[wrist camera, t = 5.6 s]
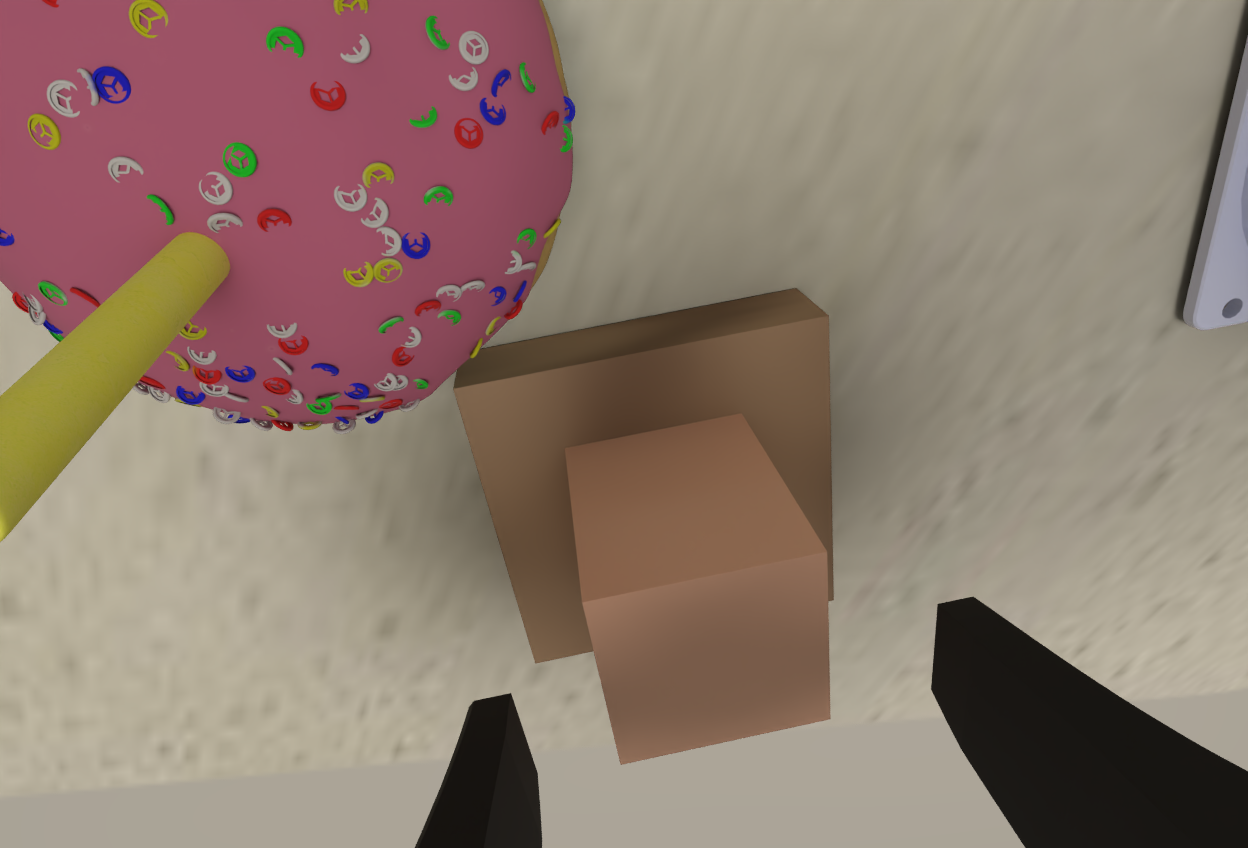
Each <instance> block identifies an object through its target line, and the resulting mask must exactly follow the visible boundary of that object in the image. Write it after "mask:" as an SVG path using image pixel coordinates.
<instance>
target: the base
mask: <svg viewBox="0 0 1248 848" xmlns="http://www.w3.org/2000/svg"><path fill="white" fill-rule="evenodd" d="M453 390H454V393H455V396H456V400H457V403H458V406H459V410H460V413H461V416H462V420H463V423H464V426H465V430H466V433H467V436H468V440H469V443H470V446H471V450H472V453H473V456H474V460H475V463H476V466H477V470H478V473H479V476H480V480H481V483H482V486H483V490H484V493H485V496H486V500H487V503H488V506H489V510H490V513H491V516H492V520H493V523H494V526H495V530H496V533H497V536H498V540H499V543H500V546H501V550H502V553H503V557H504V560H505V563H506V567H507V570H508V573H509V577H510V580H511V583H512V587H513V590H514V593H515V597H516V600H517V603H518V607H519V610H520V613H521V617H522V620H523V623H524V627H525V630H526V633H527V637H528V640H529V643H530V647H531V650H532V653H533V657H534V660H535V663H540V662H545V661H549V660H554V659H559V658H563V657H568V656H573V655H578V654H582V653H587V652H592V651H594V650H593V646H592V642H591V638H590V634H589V629H588V625H587V621H586V617H585V613H584V608H583V604H582V597H581V588H580V579H579V570H578V561H577V553H576V544H575V535H574V526H573V517H572V508H571V499H570V490H569V481H568V473H567V464H566V455H565V448H569V447H574V446H579V445H584V444H589V443H594V442H599V441H604V440H609V439H614V438H619V437H624V436H629V435H634V434H639V433H644V432H649V431H655V430H660V429H665V428H670V427H675V426H680V425H685V424H690V423H695V422H700V421H705V420H710V419H715V418H720V417H725V416H730V415H735V414H741V413H742V415H743V416H744V418H745V419H746V421H747V423H748V424H749V426H750V428H751V429H752V431H753V432H754V434H755V436H756V437H757V439H758V441H759V442H760V444H761V445H762V447H763V449H764V450H765V452H766V453H767V455H768V457H769V458H770V460H771V462H772V463H773V465H774V466H775V468H776V470H777V471H778V473H779V474H780V476H781V478H782V479H783V481H784V483H785V484H786V486H787V487H788V489H789V491H790V492H791V494H792V495H793V497H794V499H795V500H796V502H797V504H798V505H799V507H800V508H801V510H802V512H803V513H804V515H805V517H806V518H807V520H808V521H809V523H810V525H811V526H812V528H813V529H814V531H815V533H816V534H817V536H818V538H819V539H820V541H821V542H822V544H823V546H824V547H825V549H826V550H827V566H828V601H832V600H834V593H833V536H832V478H831V420H830V362H829V315H827V314H826V313H825V312H824V311H823V310H821V309H820V308H819V307H818V306H817V305H815V304H814V303H813V302H812V301H811V300H810V299H808V298H807V297H806V296H805V295H804V294H802V293H801V292H800V291H799V290H798V289H797V288H795V289H790V290H785V291H780V292H774V293H769V294H764V295H759V296H754V297H748V298H743V299H738V300H733V301H728V302H723V303H717V304H712V305H707V306H702V307H697V308H692V309H686V310H681V311H676V312H671V313H666V314H660V315H655V316H650V317H645V318H640V319H635V320H629V321H624V322H619V323H614V324H609V325H604V326H598V327H593V328H588V329H583V330H578V331H572V332H567V333H562V334H557V335H552V336H547V337H541V338H536V339H531V340H526V341H521V342H516V343H510V344H505V345H500V346H495V347H490V348H484V349H479V351H478V353H477V355H476V356H475V357H474V358H469V359H468V360H467V361H466V362H464V363H463V364H462V365H461V366H460V367H459V368H458V369H457V373H456V378H455V383H454V388H453Z"/></svg>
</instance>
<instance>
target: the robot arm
mask: <svg viewBox="0 0 1248 848" xmlns="http://www.w3.org/2000/svg"><path fill="white" fill-rule="evenodd" d="M1227 303H1228V304H1227ZM1226 304H1227V306H1226V307H1225V308H1224V306H1225V305H1226ZM1223 308H1224V309H1223ZM1183 319H1184V321H1185V323H1186V324H1188V325H1189V326H1192V327H1194V328H1196V329H1199V330H1210V329H1215V328H1220V327H1225V326H1230V325H1235V324H1240V323H1245V322H1248V37H1247V41H1246V46H1245V50H1244V54H1243V58H1242V63H1241V67H1240V71H1239V75H1238V80H1237V84H1236V88H1235V93H1234V97H1233V101H1232V105H1231V110H1230V114H1229V118H1228V122H1227V127H1226V131H1225V135H1224V140H1223V144H1222V148H1221V152H1220V157H1219V161H1218V165H1217V170H1216V174H1215V178H1214V182H1213V187H1212V191H1211V195H1210V199H1209V204H1208V208H1207V212H1206V217H1205V221H1204V225H1203V229H1202V234H1201V238H1200V242H1199V246H1198V251H1197V255H1196V259H1195V264H1194V268H1193V272H1192V276H1191V281H1190V285H1189V289H1188V294H1187V298H1186V302H1185V306H1184V311H1183ZM931 690H932V692H933V694H934V696H935V698H936V700H937V702H938V704H939V706H940V708H941V710H942V712H943V714H944V717H945V719H946V721H947V723H948V725H949V726H950V728H951V730H952V732H953V734H954V736H955V738H956V740H957V742H958V744H959V746H960V748H961V749H962V751H963V753H964V754H965V756H966V757H967V759H968V761H969V762H970V764H971V765H972V767H973V768H974V770H975V771H976V773H977V774H978V776H979V778H980V779H981V781H982V782H983V784H984V785H985V787H986V788H987V790H988V791H989V793H990V795H991V796H992V798H993V799H994V801H995V802H996V804H997V805H998V806H999V808H1000V810H1001V811H1002V813H1003V814H1004V816H1005V817H1006V819H1007V820H1008V822H1009V823H1010V825H1011V826H1012V828H1013V830H1014V831H1015V833H1016V834H1017V835H1018V837H1019V839H1020V840H1021V842H1022V843H1023V845H1024V846H1025V848H1248V771H1246V770H1244V769H1242V768H1240V767H1239V766H1237V765H1235V764H1233V763H1231V762H1229V761H1227V760H1226V759H1224V758H1222V757H1220V756H1218V755H1216V754H1215V753H1213V752H1211V751H1209V750H1207V749H1206V748H1204V747H1202V746H1200V745H1199V744H1197V743H1195V742H1193V741H1192V740H1190V739H1188V738H1186V737H1185V736H1183V735H1181V734H1180V733H1178V732H1176V731H1175V730H1173V729H1171V728H1170V727H1168V726H1166V725H1165V724H1163V723H1161V722H1160V721H1158V720H1156V719H1155V718H1153V717H1151V716H1150V715H1148V714H1146V713H1145V712H1143V711H1141V710H1140V709H1138V708H1137V707H1135V706H1134V705H1132V704H1130V703H1129V702H1127V701H1126V700H1124V699H1122V698H1121V697H1119V696H1118V695H1116V694H1115V693H1113V692H1112V691H1110V690H1109V689H1107V688H1105V687H1104V686H1102V685H1101V684H1099V683H1098V682H1096V681H1095V680H1093V679H1092V678H1090V677H1089V676H1087V675H1086V674H1084V673H1083V672H1081V671H1080V670H1078V669H1077V668H1075V667H1074V666H1072V665H1071V664H1069V663H1068V662H1066V661H1065V660H1063V659H1062V658H1060V657H1059V656H1058V655H1056V654H1055V653H1053V652H1052V651H1050V650H1049V649H1047V648H1046V647H1045V646H1043V645H1042V644H1040V643H1039V642H1037V641H1036V640H1034V639H1033V638H1032V637H1030V636H1029V635H1027V634H1026V633H1024V632H1023V631H1022V630H1020V629H1019V628H1017V627H1016V626H1014V625H1013V624H1012V623H1010V622H1009V621H1007V620H1006V619H1004V618H1003V617H1002V616H1000V615H999V614H997V613H996V612H995V611H993V610H992V609H990V608H989V607H987V606H986V605H985V604H983V603H982V602H980V601H979V600H977V599H976V598H974V597H969V598H964V599H960V600H955V601H950V602H945V603H940V604H938V608H937V621H936V634H935V647H934V660H933V673H932V686H931ZM415 848H542V831H541V814H540V800H539V787H538V773H537V770H536V767H535V764H534V761H533V758H532V755H531V752H530V749H529V746H528V743H527V740H526V737H525V734H524V731H523V728H522V725H521V722H520V719H519V716H518V713H517V710H516V707H515V704H514V701H513V698H512V695H511V693H510V694H505V695H500V696H495V697H491V698H486V699H481V700H476V701H474V702H473V703H472V704H471V705H470V707H469V709H468V712H467V715H466V718H465V722H464V725H463V728H462V731H461V734H460V736H459V739H458V742H457V745H456V748H455V751H454V753H453V756H452V759H451V761H450V764H449V767H448V769H447V772H446V774H445V777H444V780H443V782H442V785H441V788H440V790H439V792H438V795H437V797H436V799H435V802H434V804H433V806H432V809H431V811H430V814H429V816H428V818H427V821H426V823H425V826H424V828H423V830H422V833H421V835H420V837H419V839H418V842H417V844H416V846H415Z"/></svg>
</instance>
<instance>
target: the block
mask: <svg viewBox="0 0 1248 848" xmlns="http://www.w3.org/2000/svg"><path fill="white" fill-rule="evenodd" d="M565 455H566V464H567V473H568V481H569V490H570V499H571V508H572V517H573V526H574V535H575V544H576V553H577V561H578V570H579V579H580V588H581V597H582V604H583V608H584V613H585V617H586V621H587V625H588V629H589V634H590V638H591V642H592V646H593V650H594V655H595V659H596V663H597V667H598V671H599V676H600V680H601V684H602V688H603V692H604V697H605V701H606V705H607V709H608V713H609V718H610V722H611V726H612V730H613V734H614V739H615V743H616V747H617V751H618V755H619V759H620V763H621V765H622V764H626V763H631V762H636V761H640V760H645V759H649V758H654V757H658V756H663V755H668V754H672V753H677V752H681V751H686V750H690V749H695V748H700V747H704V746H708V745H714V744H718V743H723V742H727V741H732V740H737V739H741V738H746V737H750V736H754V735H760V734H764V733H769V732H773V731H778V730H783V729H787V728H792V727H796V726H801V725H805V724H810V723H815V722H819V721H824V720H828V719H830V672H829V619H828V566H827V550H826V549H825V547H824V546H823V544H822V542H821V541H820V539H819V538H818V536H817V534H816V533H815V531H814V529H813V528H812V526H811V525H810V523H809V521H808V520H807V518H806V517H805V515H804V513H803V512H802V510H801V508H800V507H799V505H798V504H797V502H796V500H795V499H794V497H793V495H792V494H791V492H790V491H789V489H788V487H787V486H786V484H785V483H784V481H783V479H782V478H781V476H780V474H779V473H778V471H777V470H776V468H775V466H774V465H773V463H772V462H771V460H770V458H769V457H768V455H767V453H766V452H765V450H764V449H763V447H762V445H761V444H760V442H759V441H758V439H757V437H756V436H755V434H754V432H753V431H752V429H751V428H750V426H749V424H748V423H747V421H746V419H745V418H744V416H743V415H742V413H741V414H735V415H730V416H725V417H720V418H715V419H710V420H705V421H700V422H695V423H690V424H685V425H680V426H675V427H670V428H665V429H660V430H655V431H649V432H644V433H639V434H634V435H629V436H624V437H619V438H614V439H609V440H604V441H599V442H594V443H589V444H584V445H579V446H574V447H569V448H565Z"/></svg>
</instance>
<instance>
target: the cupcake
mask: <svg viewBox="0 0 1248 848" xmlns="http://www.w3.org/2000/svg"><path fill="white" fill-rule="evenodd" d="M574 116H575V106H574V104H573V102H572V101H571V99H569V96H568V92H567V87H566V83H565V79H564V74H563V69H562V64H561V58H560V54H559V49H558V45H557V42H556V38H555V35H554V32H553V28H552V25H551V23H550V20H549V17H548V14H547V12H546V9H545V7H544V4H543V1H542V0H0V281H1V282H2V283H3V284H4V285H5V286H6V287H7V288H8V289H9V290H10V291H11V292H12V293H13V296H12V298H13V301H14V303H15V304H16V306H17V307H18V308H20V309H21V310H23V311H24V312H27V313H29V316H30V318H31V320H32V322H33V323H34V324H36V325H42V324H43V325H44V326H45V327H46V328H47V329H48V330H49V332H50V334H51V335H52V336H53V337H54V338H55V339H56V340H58V341H59V342H60V343H58V344H57V345H56V346H55V347H54V348H53V349H52V350H51V351H50V352H49V353H47V354H46V355H45V356H44V357H43V358H42V359H41V360H40V361H39V362H38V363H36V364H35V365H34V366H33V367H32V368H31V369H30V370H29V371H28V372H27V373H25V374H24V375H23V376H22V377H21V378H20V379H19V380H18V381H17V382H16V383H14V384H13V385H12V386H11V387H10V388H9V389H8V390H7V391H6V392H4V393H3V394H2V395H1V396H0V542H1V541H2V540H3V539H4V538H5V537H6V536H7V535H8V534H9V533H10V532H11V531H12V530H13V528H14V527H15V526H16V525H17V524H18V522H19V521H20V520H21V519H22V518H23V517H24V515H25V514H26V513H27V512H28V511H29V510H30V508H31V507H32V506H33V505H34V504H35V502H36V501H37V500H38V499H39V498H40V497H41V495H42V494H43V493H44V492H45V491H46V489H47V488H48V487H49V486H50V485H51V484H52V482H53V481H54V480H55V479H56V478H57V476H58V475H59V474H60V473H61V472H62V471H63V469H64V468H65V467H66V466H67V465H68V463H69V462H70V461H71V460H72V459H73V458H74V456H75V455H76V454H77V453H78V452H79V450H80V449H81V448H82V447H83V446H84V445H85V443H86V442H87V441H88V440H89V439H90V438H91V436H92V435H93V434H94V433H95V432H96V430H97V429H98V428H99V427H100V426H101V425H102V423H103V422H104V421H105V420H106V419H107V417H108V416H109V415H110V414H111V413H112V412H113V410H114V409H115V408H116V407H117V406H118V404H119V403H120V402H121V401H122V400H123V399H124V397H125V396H126V395H127V394H128V393H129V391H130V390H131V389H132V388H133V389H134V390H135V391H136V392H138V393H140V394H144V395H147V394H149V393H150V394H151V396H152V397H153V398H154V399H155V400H157V401H159V402H162V403H166V402H168V401H169V400H170V396H172V397H174V398H175V401H177V402H180V403H184V404H188V405H192V406H197V407H206V408H209V409H213V416H214V418H215V419H216V420H217V421H218V422H220V423H223V424H232V423H247V422H250V421H251V423H252V424H253V425H254V426H255V427H257V428H259V429H261V430H264V431H268V430H270V429H271V428H272V426H273V424H274V425H275V426H276V427H278V428H280V429H282V430H285V431H291V430H293V424H298V426H299V428H301V429H304V430H311V429H315V428H317V427H319V426H320V425H321V424H327V423H334V424H333V430H334V432H336V433H338V434H345V433H348V432H350V431H352V430H353V429H354V427H355V425H356V422H355V420H356V419H363V418H365V420H366V421H367V422H368V423H370V424H373V423H376V422H377V421H379V420H380V419H381V417H382V416H383V413H386V412H390V411H394V410H397V409H400V410H401V411H404V412H406V411H411V410H413V409H414V408H415V407H416V406H417V405H418V404H419V402H420V401H421V400H423V399H425V398H426V397H428V396H429V395H431V394H432V393H433V392H434V391H435V390H436V389H437V388H438V387H439V386H440V385H441V384H442V383H443V382H444V381H445V380H446V379H447V378H448V377H449V376H450V375H451V374H453V373H454V372H455V371H456V370H457V369H458V368H459V367H460V366H461V365H462V364H463V363H464V362H466V361H467V360H468V359H469V358H474V357H475V356H476V355H477V353H478V351H479V349H480V348H481V347H482V346H483V345H484V344H485V343H486V342H487V341H488V340H489V339H490V338H491V337H492V336H493V335H494V334H495V333H496V332H497V331H498V330H499V329H500V328H501V327H502V326H503V325H504V324H505V323H506V322H507V321H508V320H509V319H512V318H514V317H515V316H517V315H518V313H519V312H520V311H521V309H522V305H523V303H524V302H525V300H526V299H527V297H528V295H529V292H530V290H531V289H532V287H533V286H534V284H535V283H536V281H537V280H538V278H539V276H540V275H541V273H542V271H543V269H544V267H545V265H546V263H547V260H548V258H549V255H550V252H551V249H552V246H553V243H554V240H555V236H556V232H557V227H558V226H559V225H560V223H561V220H560V219H559V217H560V212H561V210H562V208H563V206H564V204H565V202H566V200H567V198H568V195H569V192H570V188H571V182H572V166H573V152H572V143H573V137H572V133H571V121H572V120H573V118H574ZM36 316H37V317H38V318H37V317H36ZM58 334H59V335H58ZM137 382H138V383H137ZM142 384H143V385H145V387H144V386H143V385H142ZM138 386H141V387H142V388H143V389H141V388H140V387H138ZM156 392H159V394H160V395H161V396H162V397H160V396H158V395H157V393H156ZM162 393H164V395H163V394H162ZM409 405H411V406H409ZM220 412H223V413H225V415H224V417H222V416H221V415H220V414H219V413H220ZM227 414H231V415H229V416H228V418H226V416H227ZM376 415H377V416H376ZM370 416H374V417H375V418H370ZM238 419H242V420H238ZM256 420H258V421H256ZM263 421H266V422H267V424H266V423H264V422H263ZM342 422H343V425H341V426H339V424H340V423H342ZM349 422H350V424H349ZM260 423H262V424H264V425H265V426H262V425H261V424H260ZM272 423H273V424H272ZM280 423H281V424H282V425H281V424H280ZM284 423H286V424H287V425H288V426H286V425H285V424H284ZM306 424H313V425H309V426H308V425H306ZM346 424H349V425H346ZM343 426H345V427H347V428H345V429H343V430H342V429H340V428H341V427H343Z"/></svg>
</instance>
